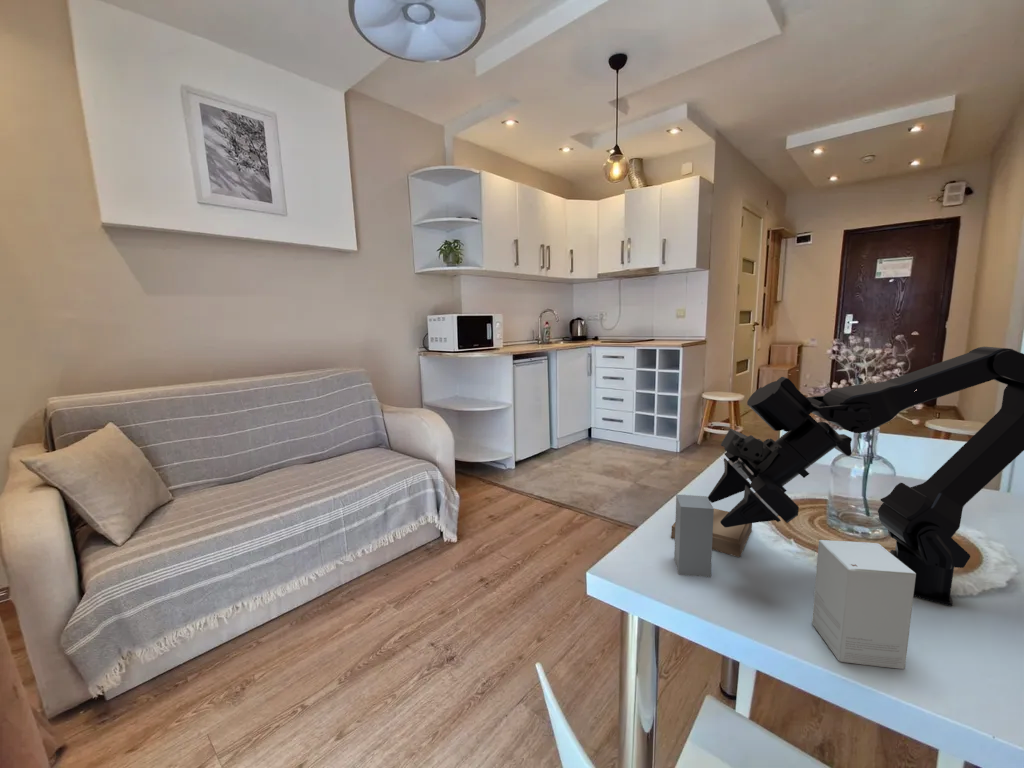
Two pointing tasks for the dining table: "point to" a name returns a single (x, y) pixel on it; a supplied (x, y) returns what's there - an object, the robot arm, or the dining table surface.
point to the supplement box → (863, 603)
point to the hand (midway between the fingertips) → (715, 511)
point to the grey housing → (693, 535)
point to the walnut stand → (726, 535)
